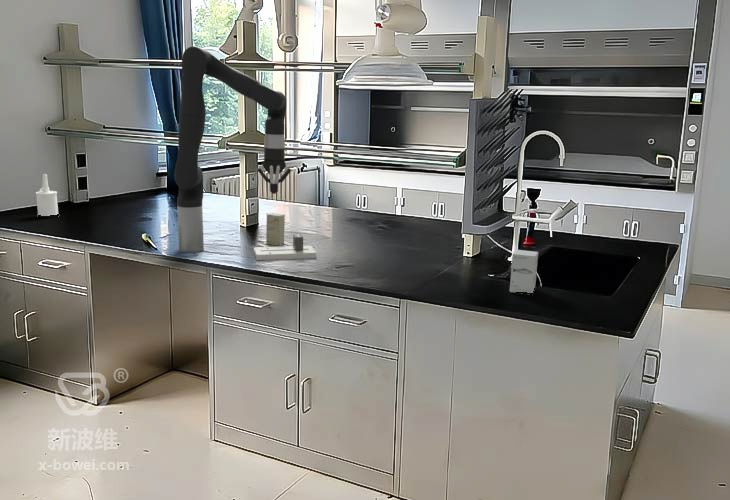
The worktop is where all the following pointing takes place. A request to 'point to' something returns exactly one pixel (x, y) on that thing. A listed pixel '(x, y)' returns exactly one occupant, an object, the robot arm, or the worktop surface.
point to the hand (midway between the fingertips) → (273, 193)
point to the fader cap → (298, 242)
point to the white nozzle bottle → (46, 199)
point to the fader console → (283, 253)
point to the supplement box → (523, 271)
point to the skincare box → (275, 229)
